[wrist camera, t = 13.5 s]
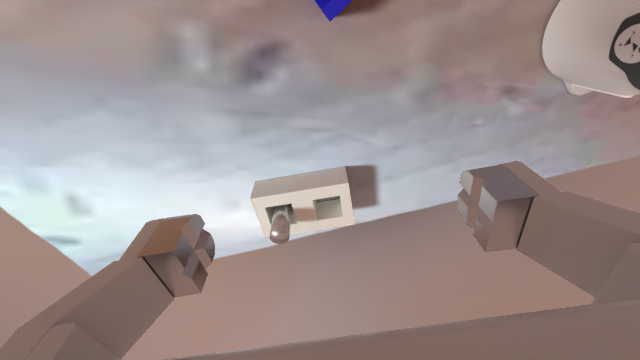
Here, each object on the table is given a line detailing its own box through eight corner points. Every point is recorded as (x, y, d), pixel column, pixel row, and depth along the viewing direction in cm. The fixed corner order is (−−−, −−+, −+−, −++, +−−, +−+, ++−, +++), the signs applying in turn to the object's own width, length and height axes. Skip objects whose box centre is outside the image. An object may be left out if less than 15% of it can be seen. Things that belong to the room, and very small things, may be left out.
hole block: (345, 166, 48) (348, 182, 44) (350, 206, 53) (354, 224, 48) (255, 181, 49) (250, 198, 45) (268, 219, 54) (265, 238, 49)
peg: (290, 189, 50) (286, 228, 42) (293, 202, 52) (291, 242, 43) (274, 192, 50) (267, 231, 42) (278, 205, 52) (272, 245, 43)
